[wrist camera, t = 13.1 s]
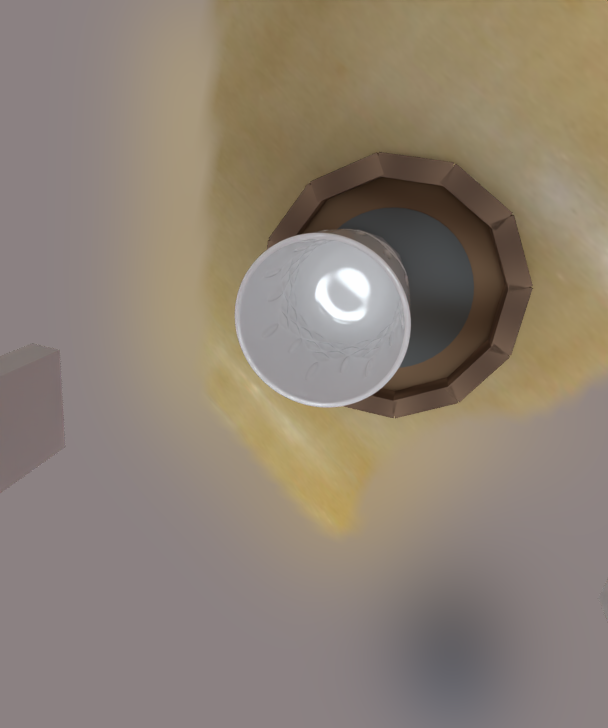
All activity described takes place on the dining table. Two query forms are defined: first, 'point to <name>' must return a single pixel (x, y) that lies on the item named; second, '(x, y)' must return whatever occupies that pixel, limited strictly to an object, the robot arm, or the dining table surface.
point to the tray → (430, 269)
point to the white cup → (325, 316)
